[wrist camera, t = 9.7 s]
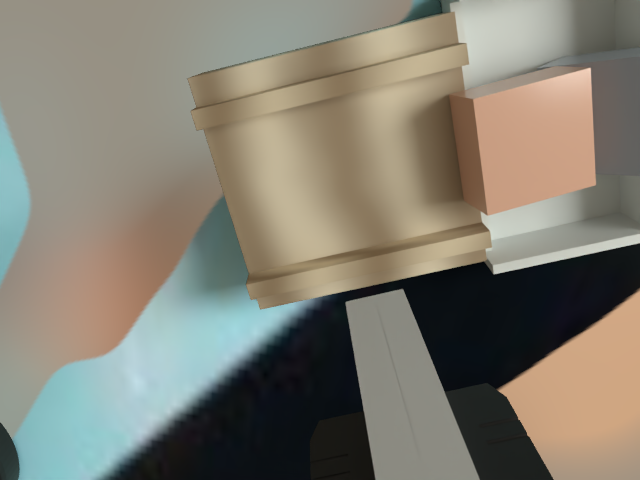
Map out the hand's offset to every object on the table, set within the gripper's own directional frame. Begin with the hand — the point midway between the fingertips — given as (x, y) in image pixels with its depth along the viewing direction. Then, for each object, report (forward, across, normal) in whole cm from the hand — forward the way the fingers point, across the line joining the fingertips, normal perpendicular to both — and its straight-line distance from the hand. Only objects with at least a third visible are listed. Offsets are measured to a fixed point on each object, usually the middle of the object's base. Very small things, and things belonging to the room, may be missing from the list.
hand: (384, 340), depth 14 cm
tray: (+21, +13, 0) cm, 24 cm away
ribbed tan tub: (+21, 0, 0) cm, 21 cm away
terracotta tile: (+17, +10, 0) cm, 19 cm away
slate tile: (+16, +14, 0) cm, 21 cm away
